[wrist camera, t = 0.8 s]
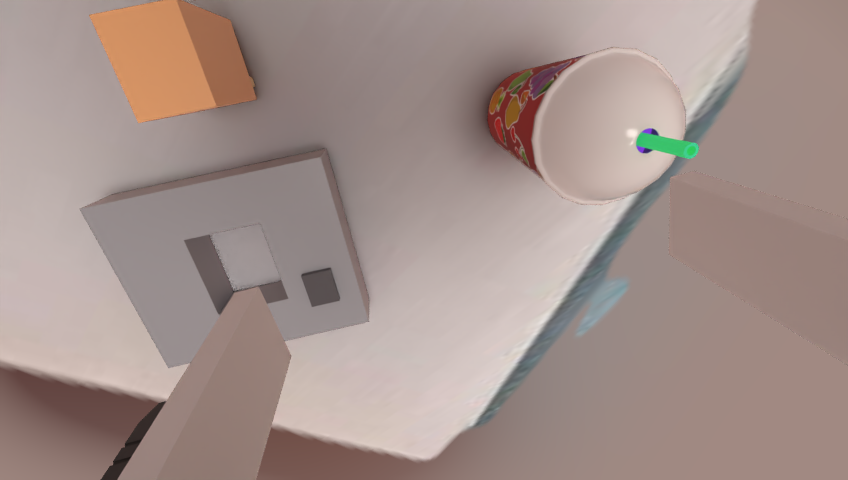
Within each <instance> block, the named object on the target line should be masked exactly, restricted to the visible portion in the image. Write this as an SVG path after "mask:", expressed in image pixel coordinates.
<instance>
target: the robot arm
mask: <svg viewBox="0 0 848 480" xmlns="http://www.w3.org/2000/svg"><path fill="white" fill-rule="evenodd" d="M669 219H670V220H669V255H670V256H672V257H674V258H675V259H677V260H678V261H680V262H682V263H683V264H685V265H687V266H688V267H690V268H691V269H693V270H694V271H696V272H698V273H699V274H701V275H703V276H704V277H706V278H707V279H709V280H711V281H712V282H714V283H716V284H717V285H719V286H720V287H722V288H723V289H725V290H727V291H729V292H730V293H732V294H733V295H735V296H736V297H738V298H740V299H741V300H743V301H744V302H746V303H748V304H749V305H751V306H753V307H754V308H756V309H757V310H759V311H761V312H762V313H764V314H765V315H767V316H769V317H770V318H772V319H774V320H775V321H777V322H778V323H780V324H782V325H783V326H785V327H786V328H788V329H790V330H791V331H793V332H795V333H796V334H798V335H799V336H801V337H803V338H804V339H806V340H807V341H809V342H811V343H812V344H814V345H815V346H817V347H819V348H820V349H822V350H824V351H825V352H827V353H828V354H830V355H831V356H833V357H835V358H836V359H838V360H840V361H841V362H843V363H844V364H846V365H848V219H847V218H844V217H841V216H838V215H834V214H831V213H828V212H824V211H822V210H818V209H815V208H812V207H809V206H806V205H802V204H799V203H796V202H793V201H790V200H786V199H783V198H779V197H777V196H773V195H770V194H767V193H764V192H761V191H757V190H754V189H751V188H748V187H744V186H741V185H738V184H735V183H731V182H728V181H725V180H722V179H719V178H715V177H712V176H709V175H706V174H703V173H699V172H696V171H691V172H688V173H684V174H680V175H676V176H672V177H670V216H669ZM290 359H291V354H290V352H289V350H288V348H287V346H286V343H285V341H284V339H283V337H282V335H281V333H280V331H279V329H278V326H277V324H276V322H275V320H274V318H273V316H272V314H271V312H270V309H269V307H268V305H267V303H266V301H265V299H264V297H263V295H262V292H261V290H260V288H259V287H255V288H251V289H248V290H244V291H240V292H236V293H234V294H233V296H232V298H231V299H230V301H229V302H228V304H227V306H226V307H225V309H224V310H223V312H222V314H221V315H220V317H219V318H218V320H217V321H216V323H215V325H214V326H213V328H212V329H211V331H210V333H209V334H208V336H207V337H206V339H205V341H204V342H203V344H202V345H201V347H200V349H199V350H198V352H197V353H196V355H195V357H194V358H193V360H192V361H191V363H190V365H189V366H188V368H187V369H186V371H185V372H184V374H183V376H182V377H181V379H180V380H179V382H178V384H177V385H176V387H175V388H174V390H173V392H172V393H171V395H170V396H169V398H168V400H167V401H165V402H161V403H159V404H158V405H157V406H156V407H155V408H154V409H152V410H151V411H150V412H149V413H148V414H147V416H145V417H144V418H143V419H142V420H141V421H140V422H139V424H138V425H137V426H136V428H135V429H134V431H133V432H132V434H131V435H130V437H129V438H128V440H127V441H126V443H125V448H122V449H121V450H120V452H119V453H118V455H117V456H116V458H115V459H114V461H113V465H112V466H110V467H109V468H108V470H107V471H106V473H105V474H104V476H103V477H102V479H101V480H256V477H257V474H258V470H259V467H260V463H261V460H262V456H263V453H264V450H265V446H266V442H267V439H268V436H269V432H270V429H271V425H272V422H273V418H274V415H275V411H276V408H277V404H278V401H279V398H280V394H281V391H282V387H283V384H284V380H285V377H286V373H287V370H288V366H289V363H290Z"/></svg>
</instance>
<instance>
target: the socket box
mask: <svg viewBox="0 0 848 480" xmlns="http://www.w3.org/2000/svg"><path fill="white" fill-rule="evenodd" d="M80 211H81V213H82V214H83V216H84V218H85V220H86V222H87V223H88V225H89V227H90V229H91V230H92V232H93V234H94V236H95V238H96V239H97V241H98V243H99V245H100V247H101V248H102V250H103V252H104V254H105V256H106V257H107V259H108V261H109V263H110V264H111V266H112V268H113V270H114V272H115V273H116V275H117V277H118V279H119V281H120V282H121V284H122V286H123V288H124V290H125V291H126V293H127V295H128V297H129V298H130V300H131V302H132V304H133V306H134V307H135V309H136V311H137V313H138V315H139V316H140V318H141V320H142V322H143V324H144V325H145V327H146V329H147V331H148V333H149V334H150V336H151V338H152V340H153V341H154V343H155V345H156V347H157V349H158V350H159V352H160V354H161V356H162V358H163V359H164V361H165V363H166V365H167V367H168V368H171V367H175V366H179V365H184V364H188V363H191V361H192V360H193V358H194V357H195V355H196V353H197V352H198V350H199V349H200V347H201V345H202V344H203V342H204V341H205V339H206V337H207V336H208V334H209V333H210V331H211V329H212V328H213V326H214V325H215V323H216V321H217V320H218V318H219V317H220V315H221V314H222V312H223V310H224V309H225V307H226V306H227V304H228V302H229V301H230V299H231V298H232V296H233V294H234V293H236V292H240V291H244V290H248V289H251V288H248V289H244V290H239V291H235V292H234V291H233V289H232V287H231V284H230V282H229V280H228V278H227V275H226V273H225V271H224V268H223V266H222V264H221V262H220V259H219V257H218V255H217V252H216V250H215V248H214V246H213V243H212V241H211V239H210V236H209V234H214V233H219V232H223V231H228V230H232V229H237V228H241V227H246V226H250V225H255V224H259V223H260V225H261V228H262V230H263V233H264V235H265V238H266V241H267V243H268V246H269V249H270V251H271V254H272V257H273V259H274V262H275V265H276V267H277V270H278V273H279V275H280V278H281V280H282V281H279V282H275V283H270V284H266V285H261V286H257V287H259V288H260V290H261V292H262V295H263V297H264V299H265V301H266V303H267V305H268V307H269V309H270V312H271V314H272V316H273V318H274V320H275V322H276V324H277V326H278V329H279V331H280V333H281V335H282V337H283V339H284V341H288V340H292V339H296V338H301V337H305V336H309V335H314V334H318V333H322V332H327V331H331V330H335V329H339V328H344V327H348V326H352V325H357V324H361V323H365V322H369V296H368V293H367V289H366V286H365V282H364V279H363V275H362V272H361V268H360V265H359V261H358V258H357V254H356V251H355V247H354V244H353V240H352V237H351V233H350V230H349V226H348V223H347V219H346V216H345V212H344V209H343V205H342V202H341V198H340V195H339V191H338V188H337V184H336V181H335V177H334V174H333V170H332V167H331V163H330V160H329V156H328V153H327V149H322V150H317V151H312V152H308V153H303V154H298V155H294V156H289V157H284V158H280V159H275V160H270V161H266V162H261V163H256V164H252V165H247V166H242V167H238V168H233V169H228V170H224V171H219V172H215V173H210V174H205V175H201V176H196V177H191V178H187V179H182V180H177V181H173V182H168V183H163V184H159V185H154V186H149V187H145V188H140V189H135V190H131V191H126V192H121V193H117V194H112V195H110V196H108V197H105V198H103V199H101V200H99V201H96V202H94V203H92V204H90V205H87V206H85V207H83V208H80ZM252 288H255V287H252Z"/></svg>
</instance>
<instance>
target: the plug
mask: <svg viewBox="0 0 848 480" xmlns="http://www.w3.org/2000/svg"><path fill="white" fill-rule="evenodd" d="M89 16H90V18H91V20H92V22H93V25H94V27H95V29H96V31H97V33H98V36H99V38H100V40H101V42H102V44H103V46H104V49H105V51H106V53H107V55H108V57H109V60H110V62H111V64H112V66H113V68H114V71H115V73H116V75H117V77H118V79H119V81H120V84H121V86H122V88H123V90H124V92H125V95H126V97H127V99H128V101H129V103H130V106H131V108H132V110H133V112H134V114H135V116H136V119H137V121H138V123H141V122H147V121H152V120H157V119H162V118H168V117H173V116H178V115H184V114H189V113H194V112H200V111H205V110H209V109H214V108H219V107H224V106H228V105H233V104H238V103H243V102H248V101H252V100H257V98H256V95H255V92H254V89H253V87H255V84H254V81H253V78H252V77H249V74H248V71H247V69H246V66H245V63H244V60H243V57H242V54H241V51H240V48H239V45H238V42H237V39H236V36H235V33H234V30H233V27H232V24H231V21H230V20H229V19H226V18H224V17H221V16H219V15H216V14H214V13H211V12H209V11H207V10H204V9H202V8H199V7H197V6H194V5H192V4H190V3H187V2H185V1H182V0H162V1H157V2H152V3H147V4H142V5H137V6H132V7H127V8H122V9H116V10H111V11H106V12H101V13H96V14H91V15H89Z"/></svg>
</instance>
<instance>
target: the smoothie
mask: <svg viewBox="0 0 848 480" xmlns="http://www.w3.org/2000/svg"><path fill="white" fill-rule="evenodd" d="M488 125H489V129H490V133H491V135H492V136H493V138H494V140H495V141H496V143H497V144H498V145H499V146H501V147H502V148H503V149H504V150H506V151H507V152H508V153H510V154H511V155H512V156H513V157H515V158H516V159H517V160H518V161H520V162H521V163H522V164H523V165H524V166H526V167H527V168H528V169H529V170H531V171H532V172H533V173H534V174H536V175H537V176H538V177H539V178H541V179H542V180H543V181H544V182H545V183H546V184H547V185H548V186H549V187H550V188H551V189H553V190H554V191H555V192H556V193H557V194H558V195H559V196H561V197H562V198H564V199H567V200H570V201H573V202H575V203H578V204H581V205H604V204H607V203H610V202H613V201H617V200H620V199H623V198H625V197H627V196H628V195H631V194H634V193H637V192H638V191H640V190H642V189H643V188H645V187H646V186H648V185H650V184H651V183H653V182H654V181H656V180H657V179H658V178H659V177H660V176H661V175H662V174H663V173H664V172H665V171H666V170H667V169H668V168H669V167H670V166H671V164H672V162H673V161H674V159H675V157H676V156H680V157H684V158H688V159H691V158H693V157H695V156H696V154H697V153H698V150H699V147H698V145H697V144H696V143H691V142H687V141H683V138H684V135H685V131H686V109H685V106H684V103H683V100H682V97H681V94H680V91H679V89H678V87H677V86H676V85H675V84H674V82H673V79H672V76H671V75H670V74H669V73H668V71H667V70H666V69H665V68H664V67H663V66H662V64H661V63H660V62H659V61H658V60H657V59H656V58H654V57H652V56H650V55H648V54H646V53H644V52H642V51H640V50H638V49H633V48H619V47H611V48H607V49H604V50H601V51H598V52H594V53H591V54H588V55H584V56H580V57H576V58H571V59H567V60H563V61H559V62H555V63H551V64H547V65H543V66H539V67H535V68H531V69H527V70H523V71H520V72H517V73H514V74H512V75H511V76H510V77H508V78H507V79H506V80H504V81H503V82H502V83H501V84H500V85H499V87H498V88H497V89H496V91H495V92H494V93H493V96H492V99H491V101H490V104H489V107H488Z"/></svg>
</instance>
